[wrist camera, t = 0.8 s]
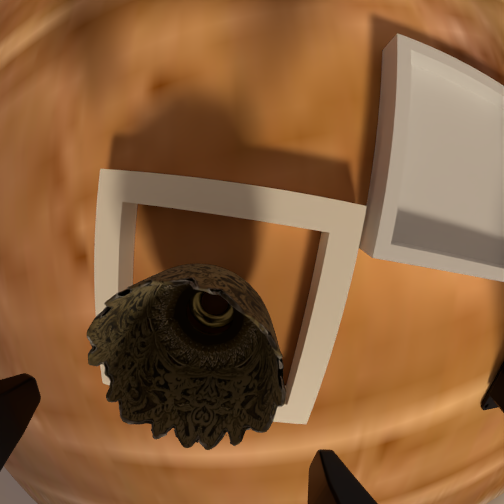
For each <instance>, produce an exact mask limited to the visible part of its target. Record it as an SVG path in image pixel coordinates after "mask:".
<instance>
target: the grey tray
mask: <svg viewBox="0 0 504 504" xmlns="http://www.w3.org/2000/svg"><path fill="white" fill-rule="evenodd" d="M366 206H367V208H366V213H365V219H364V224H363V229H362V234H361V239H360V244H359V248H360V249H361V250H362V251H364V252H365V253H367V254H368V255H369V256H371V257H372V258H376V259H382V260H388V261H394V262H399V263H405V264H410V265H416V266H421V267H427V268H432V269H438V270H443V271H449V272H454V273H460V274H465V275H470V276H475V277H481V278H486V279H491V280H496V281H501V282H504V86H503V85H501V84H500V83H498V82H497V81H495V80H494V79H492V78H490V77H489V76H487V75H485V74H484V73H482V72H480V71H478V70H477V69H475V68H473V67H471V66H469V65H468V64H466V63H464V62H462V61H460V60H458V59H456V58H454V57H452V56H450V55H448V54H446V53H444V52H442V51H439V50H437V49H435V48H433V47H431V46H428V45H426V44H424V43H421V42H419V41H416V40H414V39H411V38H409V37H406V36H403V35H401V34H398V33H397V34H396V35H395V36H394V38H393V39H392V40H391V41H390V42H389V43H388V44H387V46H386V47H385V48H384V49H383V50H382V74H381V91H380V104H379V116H378V126H377V135H376V144H375V152H374V159H373V167H372V174H371V180H370V187H369V193H368V199H367V205H366Z"/></svg>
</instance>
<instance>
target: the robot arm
mask: <svg viewBox="0 0 504 504" xmlns="http://www.w3.org/2000/svg"><path fill="white" fill-rule="evenodd" d="M40 399H41V396H40V392H39V389H38V385H37V382H36V379H35V378H34V377H32V376H31V375H29V374H26V373H23V374H20V375H16V376H13V377H9V378H6V379H2V380H0V471H1V469H2V468H3V466H4V464H5V463H6V461H7V459H8V458H9V456H10V454H11V453H12V451H13V450H14V448H15V446H16V445H17V443H18V442H19V440H20V438H21V437H22V435H23V434H24V432H25V430H26V428H27V426H28V424H29V422H30V420H31V418H32V416H33V414H34V412H35V410H36V408H37V406H38V404H39V402H40ZM497 407H499V408H500V409H501V410H502V411H503V413H504V362H503V364H502V367H501V369H500V371H499V373H498V375H497V377H496V379H495V381H494V382H493V384H492V386H491V388H490V390H489V392H488V394H487V395H486V397H485V399H484V401H483V402H482V404H481V408H482V409H483V410H488V409H492V408H497ZM308 504H378V503H377V502H376V501H375V500H374V499H373V498H372V497H371V495H370V494H369V493H368V492H367V491H366V490H365V488H364V487H363V486H362V485H361V484H360V483H359V481H358V480H357V479H356V478H355V477H354V475H353V474H352V473H351V472H350V471H349V469H348V468H347V467H346V466H345V465H344V463H343V462H342V461H341V460H340V459H339V457H338V456H337V455H336V454H335V452H334V451H332V450H318V451H317V453H316V455H315V457H314V459H313V461H312V463H311V465H310V468H309V483H308Z"/></svg>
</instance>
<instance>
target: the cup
mask: <svg viewBox="0 0 504 504" xmlns="http://www.w3.org/2000/svg"><path fill="white" fill-rule="evenodd" d="M205 292H208V293H210V294H212V295H214V294H215V295H217V294H218V295H219V296H221V297H222V298H224V299H225V300H226V301H227V302H228V303H229V306H228V309H227V310H226V311H225V312H224V313H223V314H220V315H212V314H209V313H207V312H206V311H205V310H204V309H203V307H202V305H201V297H202V295H203V294H204V293H205ZM104 304H105V305H106V307H105V309H104V310H103V311H102V312H101V313H99V314H98V315H97V316H96V317H95V319H94V320H93V322H92V324H91V325H90V327H89V329H88V331H87V338H88V340H89V341H90V344H91V346H92V349H91V350H90V352H89V353H88V364H89V365H93V366H99V365H100V364H103V365H104V367H105V372H104V374H105V375H106V376H107V377H108V378H109V380H110V385H109V386H110V388H109V390H108V392H107V394H106V398H107V401H108V402H117V401H118V402H119V410H120V417H121V419H122V421H123V422H125V423H128V424H144V423H149V424H151V425H152V429H151V431H152V433H153V438H154V439H159V438H161V437H163V436H165V435H167V432H168V431H170V430H171V429H172V428H175V430H174V431H175V435H176V437H177V438H178V439H179V441H180V443H181V444H182V446H183V447H185V448H189V447H192V446H193V444H194V443H195V442H197V443H198V442H199V441H200V442H199V443H200V444H201V445H202V446H203V447H204V448H205V449H206V450H210V449H212V448H214V447H215V446H216V445H217V444H218V443H219V442H220V441H221V440H222V438H223V437H224V435H225V433H226V432H228V434H229V438H230V444H232V445H233V446H235V445H238V444H239V443H240V442H241V441H242V439H243V436H244V433H245V431H246V430H249V428H251V429H252V430H254V431H256V432H260V433H263V432H266V431H267V430H268V429H269V428H270V426H271V424H272V422H273V420H274V417H275V414H276V410H277V407H282V406H283V405H284V404H285V401H286V389H285V386H284V380H283V368H284V366H283V362H282V357H283V356H282V354H281V352H280V349H279V345H278V341H277V338H276V334H275V331H274V328H273V324H272V321H271V318H270V315H269V313H268V311H267V308H266V306H265V304H264V303H263V301H262V299H261V298H260V296H259V295H258V293H257V292H256V291H255V290H254V289H253V288H252V287H251V285H250V284H249V283H247V282H246V281H245V280H244V279H243V278H241V277H240V276H238V275H237V274H235V273H233V272H231V271H230V270H227V269H225V268H222V267H219V266H215V265H209V264H187V265H181V266H177V267H174V268H170V269H168V270H165V271H163V272H160V273H158V274H156V275H153V276H151V277H149V278H147V279H145V280H143V281H140V282H138V283H136V284H134V285H131V286H129V287H127V289H125V290H123V291H121V292H118V293H116V294H115V295H114V296H112V297H111V298H110V299H108V300H107V301H106V302H105V303H104Z"/></svg>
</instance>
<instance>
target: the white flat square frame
mask: <svg viewBox="0 0 504 504" xmlns="http://www.w3.org/2000/svg"><path fill="white" fill-rule="evenodd" d="M138 204H144V205H152V206H160V207H167V208H175V209H182V210H189V211H196V212H203V213H210V214H217V215H224V216H231V217H237V218H244V219H250V220H256V221H263V222H269V223H275V224H281V225H287V226H293V227H299V228H305V229H311V230H317V231H322V232H321V237H320V242H319V248H318V253H317V258H316V263H315V267H314V272H313V277H312V282H311V286H310V291H309V295H308V300H307V304H306V309H305V313H304V317H303V321H302V326H301V330H300V334H299V338H298V342H297V346H296V350H295V354H294V358H293V362H292V365H291V369H290V373H289V377H288V380H287V384H286V385H284V386H285V389H286V401H285V404H284V405H283V406H282V407H277V410H276V414H275V417H274V420H273V421H274V422H284V423H296V424H307V421H308V419H309V416H310V414H311V411H312V408H313V405H314V403H315V400H316V397H317V394H318V391H319V389H320V386H321V383H322V380H323V377H324V374H325V371H326V368H327V365H328V362H329V358H330V355H331V352H332V349H333V345H334V342H335V339H336V335H337V332H338V329H339V325H340V321H341V318H342V314H343V311H344V307H345V303H346V299H347V295H348V291H349V287H350V283H351V279H352V275H353V271H354V267H355V262H356V258H357V253H358V249H359V244H360V239H361V234H362V229H363V224H364V219H365V213H366V208H367V206H364V205H360V204H355V203H350V202H345V201H341V200H335V199H330V198H325V197H320V196H315V195H309V194H304V193H298V192H292V191H286V190H280V189H274V188H268V187H262V186H255V185H248V184H242V183H235V182H227V181H220V180H212V179H204V178H196V177H187V176H178V175H169V174H159V173H148V172H137V171H125V170H111V169H100V177H99V186H98V197H97V209H96V225H95V253H94V283H95V311H96V316H97V315H98V314H99V313H101V312H102V311H103V310H104V309H105V307H106V305H105V304H104V303H105V302H106V301H107V300H108V299H110V298H111V297H112V296H114V295H115V294H116V293H118V292H121V291H123V290H125V289H127V287H129V286H131V285H133V260H134V242H135V228H136V216H137V205H138ZM100 367H101V374H102V381H103V383H104V384H107V385H110V380H109V378H108V377H107V376H106V375H105V374H104V372H105V367H104V365H103V364H100Z"/></svg>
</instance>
